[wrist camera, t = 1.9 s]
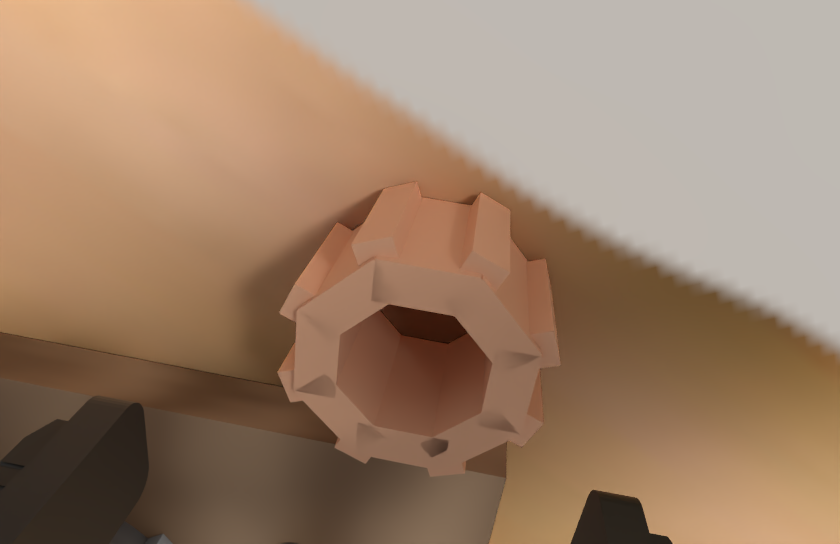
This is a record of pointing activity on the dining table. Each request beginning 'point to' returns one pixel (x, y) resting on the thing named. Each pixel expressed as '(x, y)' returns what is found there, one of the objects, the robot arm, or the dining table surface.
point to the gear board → (244, 458)
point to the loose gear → (417, 358)
